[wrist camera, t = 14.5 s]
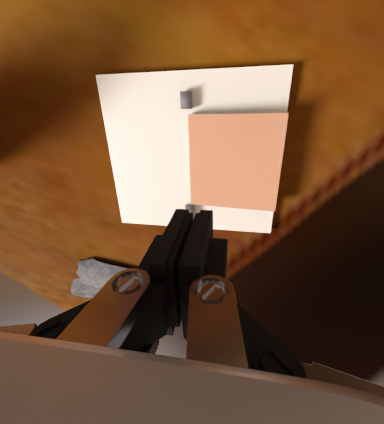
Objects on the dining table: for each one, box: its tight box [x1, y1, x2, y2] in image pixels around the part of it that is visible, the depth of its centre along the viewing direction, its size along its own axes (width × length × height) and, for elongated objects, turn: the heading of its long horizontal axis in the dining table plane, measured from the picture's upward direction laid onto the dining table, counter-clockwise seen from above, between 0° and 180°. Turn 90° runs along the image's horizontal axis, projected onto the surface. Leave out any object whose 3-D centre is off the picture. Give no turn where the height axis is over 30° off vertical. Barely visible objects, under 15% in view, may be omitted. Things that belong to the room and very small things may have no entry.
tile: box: [188, 112, 289, 212], centre depth 26 cm, size 10×10×1 cm
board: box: [96, 64, 294, 233], centre depth 27 cm, size 18×20×2 cm
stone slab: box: [71, 258, 128, 298], centre depth 40 cm, size 18×2×10 cm
